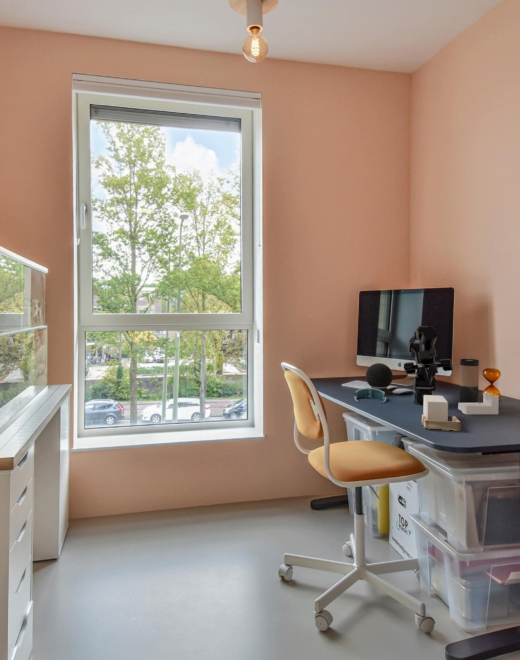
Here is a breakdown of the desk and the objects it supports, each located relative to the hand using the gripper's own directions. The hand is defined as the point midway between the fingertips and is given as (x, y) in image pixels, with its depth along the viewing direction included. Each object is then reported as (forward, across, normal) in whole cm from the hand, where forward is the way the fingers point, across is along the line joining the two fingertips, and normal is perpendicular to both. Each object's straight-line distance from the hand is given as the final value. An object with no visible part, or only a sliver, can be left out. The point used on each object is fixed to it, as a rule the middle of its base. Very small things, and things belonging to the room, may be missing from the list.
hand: (428, 384), depth 192 cm
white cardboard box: (+17, +2, -4) cm, 17 cm away
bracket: (+7, +16, +14) cm, 23 cm away
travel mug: (-1, +12, +26) cm, 28 cm away
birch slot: (+23, +5, -14) cm, 28 cm away
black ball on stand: (-14, -29, +33) cm, 46 cm away
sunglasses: (-1, -28, +15) cm, 32 cm away
